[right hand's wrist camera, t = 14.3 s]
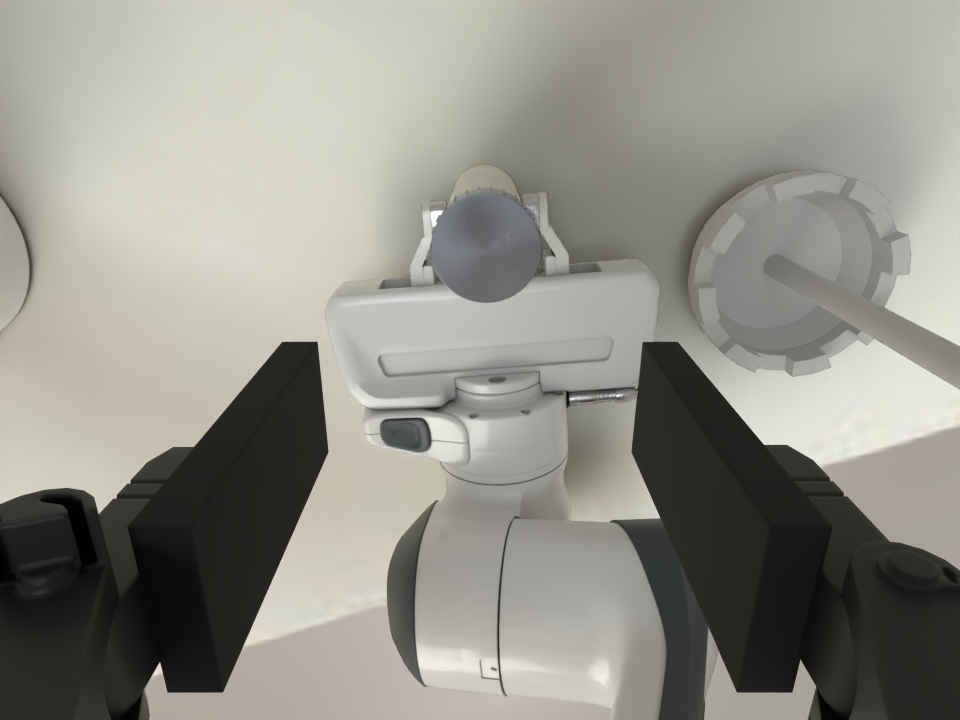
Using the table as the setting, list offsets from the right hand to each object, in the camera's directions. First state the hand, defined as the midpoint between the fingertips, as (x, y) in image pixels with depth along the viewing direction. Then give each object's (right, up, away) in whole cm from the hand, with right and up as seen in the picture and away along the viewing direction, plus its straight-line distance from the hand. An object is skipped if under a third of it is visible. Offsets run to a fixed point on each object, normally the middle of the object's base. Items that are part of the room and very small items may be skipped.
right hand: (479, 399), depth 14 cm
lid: (0, +6, +14) cm, 15 cm away
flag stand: (+20, +8, +31) cm, 38 cm away
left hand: (0, +10, +23) cm, 25 cm away
